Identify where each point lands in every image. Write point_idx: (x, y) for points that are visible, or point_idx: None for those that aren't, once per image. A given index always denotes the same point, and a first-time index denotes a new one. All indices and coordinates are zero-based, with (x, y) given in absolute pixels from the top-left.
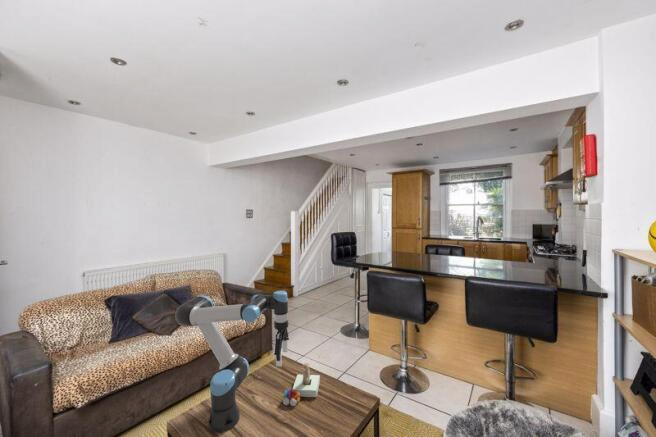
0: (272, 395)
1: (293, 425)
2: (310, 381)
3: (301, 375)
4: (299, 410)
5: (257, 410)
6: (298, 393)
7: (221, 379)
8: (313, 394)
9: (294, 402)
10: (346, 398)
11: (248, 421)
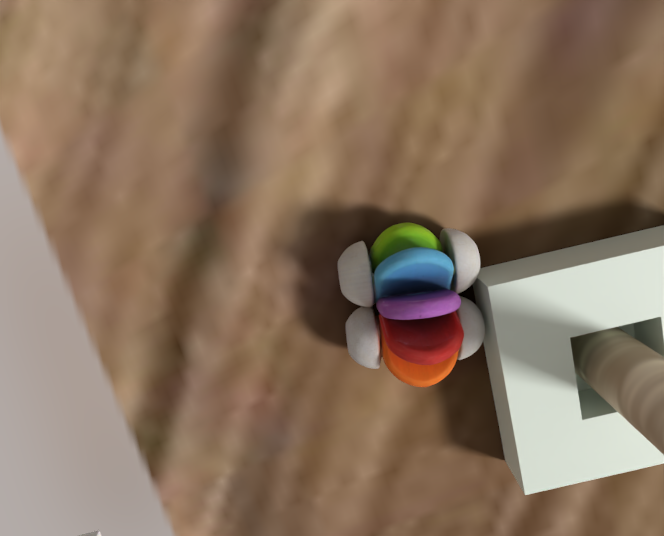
0: (433, 83)
1: (181, 416)
2: None
3: None
4: (332, 394)
5: (218, 52)
6: (430, 382)
7: None
8: (508, 450)
9: (355, 360)
10: None
11: (81, 49)
